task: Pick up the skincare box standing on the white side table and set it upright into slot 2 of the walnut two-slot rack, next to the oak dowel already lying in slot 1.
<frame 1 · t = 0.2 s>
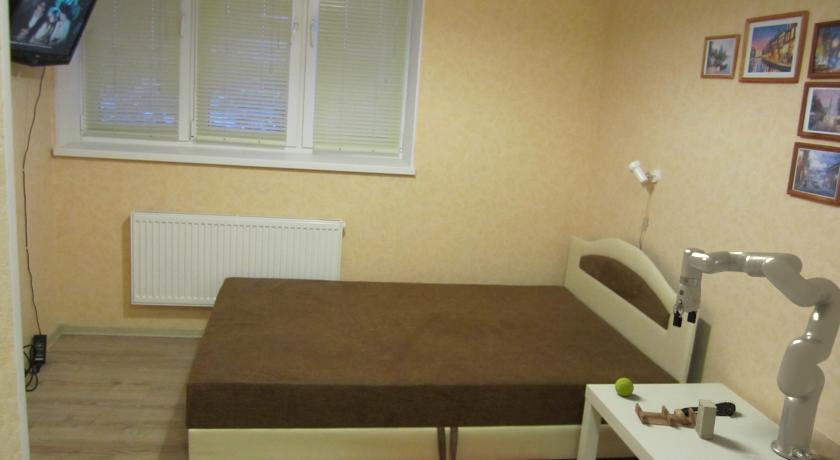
hand: (684, 324, 249), 31 cm above the table, tool pointing down, fingers open, 9 cm apart
tennis ball: (623, 395, 256), on the table
rack: (666, 420, 237), on the table
skincare box: (703, 436, 227), on the table
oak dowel: (680, 420, 236), point 1 cm above the table, touching rack
hairbrush: (705, 413, 245), on the table, touching rack
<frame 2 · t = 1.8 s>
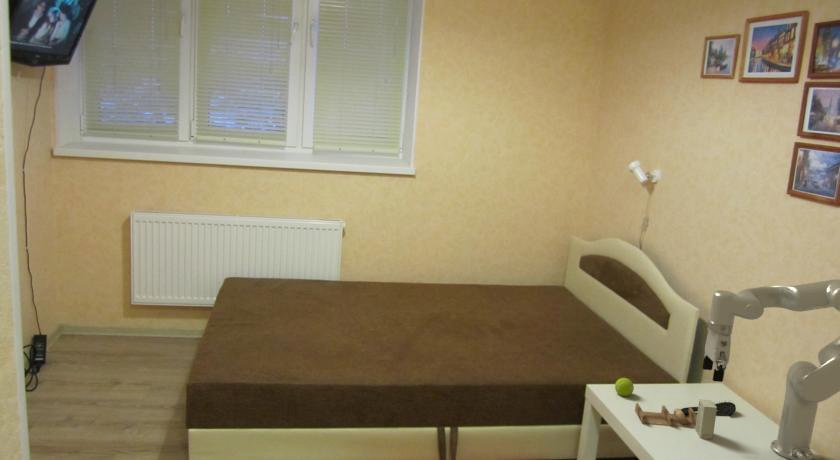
hand: (712, 375, 223), 22 cm above the table, tool pointing down, fingers open, 9 cm apart
nothing on the table moved.
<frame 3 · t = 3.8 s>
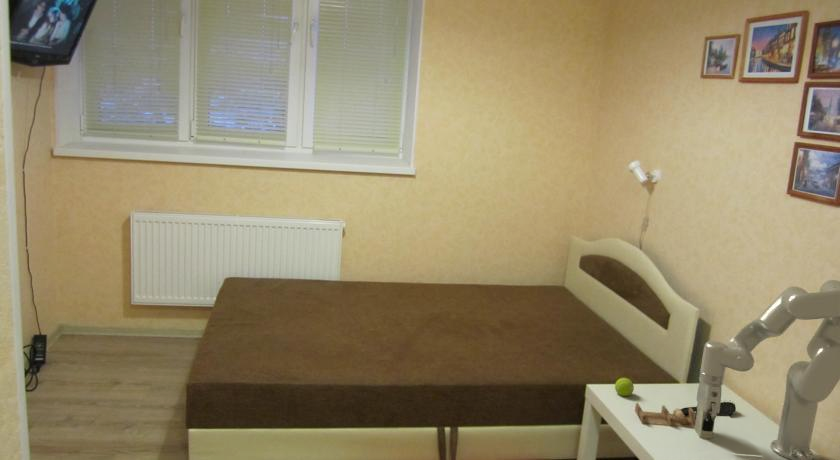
hand: (703, 425, 227), 4 cm above the table, tool pointing down, fingers open, 6 cm apart
skincare box: (702, 436, 228), on the table, touching gripper
everything else where it was.
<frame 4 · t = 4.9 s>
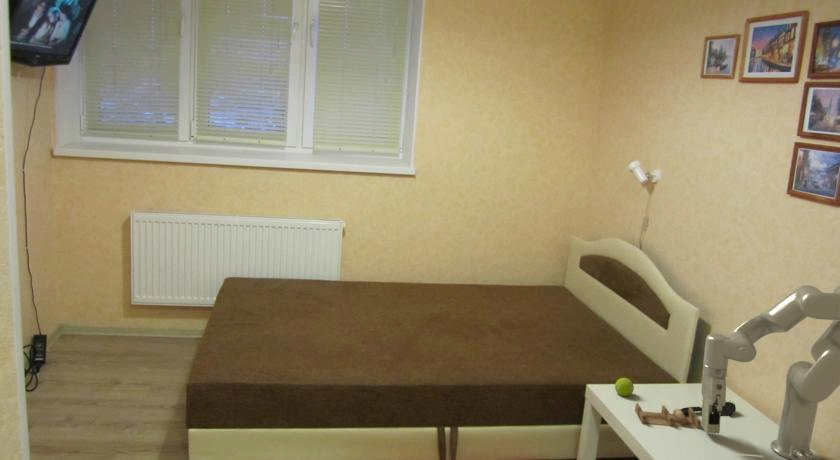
hand: (709, 419, 226), 7 cm above the table, tool pointing down, fingers closed on skincare box, 6 cm apart
skincare box: (709, 429, 227), point 3 cm above the table, touching gripper
everything else where it was.
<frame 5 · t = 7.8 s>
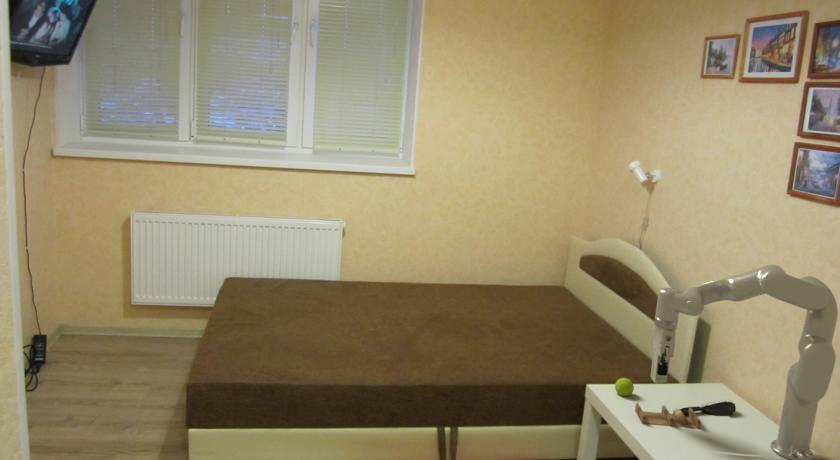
hand: (658, 370, 233), 19 cm above the table, tool pointing down, fingers closed on skincare box, 6 cm apart
skincare box: (658, 380, 234), point 15 cm above the table, touching gripper
everything else where it was.
when the fingers open (5 cm above the table, at t = 10.6 s): skincare box stays where it is, resting on rack.
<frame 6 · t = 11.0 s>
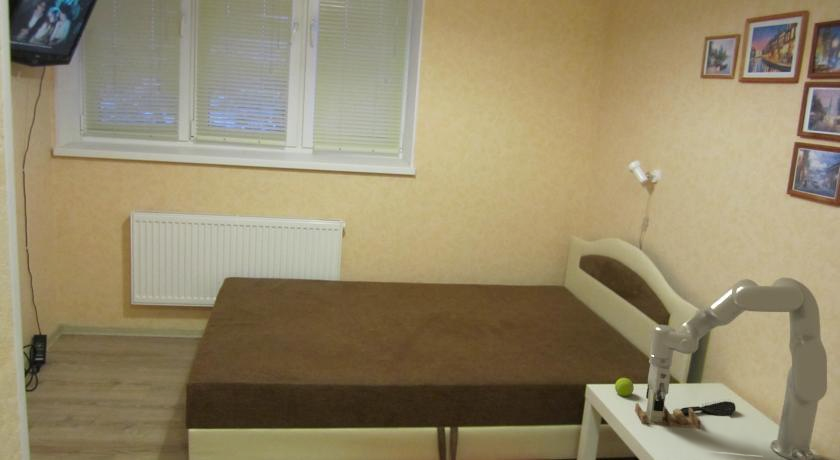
hand: (654, 404, 236), 6 cm above the table, tool pointing down, fingers open, 9 cm apart
skincare box: (653, 418, 237), resting on rack
everything else where it was.
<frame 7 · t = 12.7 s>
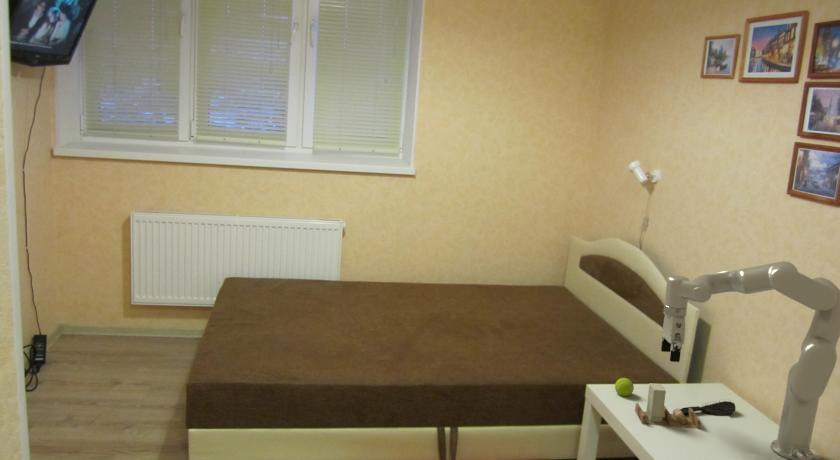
hand: (670, 356, 235), 24 cm above the table, tool pointing down, fingers open, 9 cm apart
nothing on the table moved.
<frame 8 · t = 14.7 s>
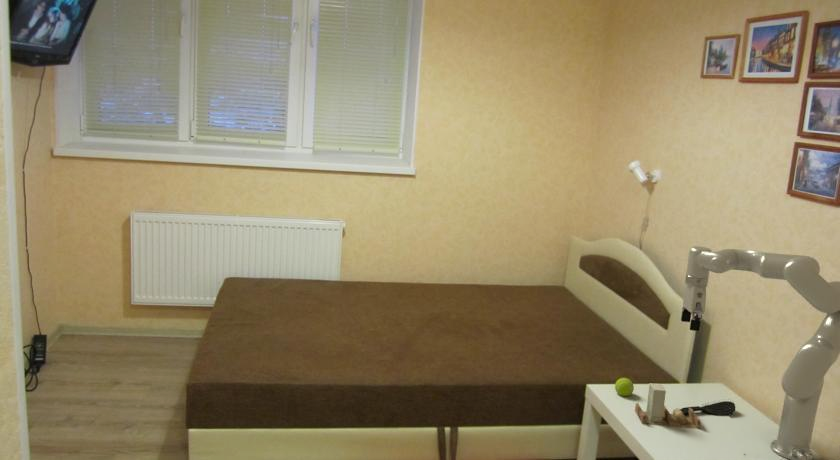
hand: (689, 325, 240), 33 cm above the table, tool pointing down, fingers open, 9 cm apart
nothing on the table moved.
at the end: skincare box inside the target area on the rack (0.7 cm from its centre), point 0.4 cm above the rack's base; skincare box tilted 0° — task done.
